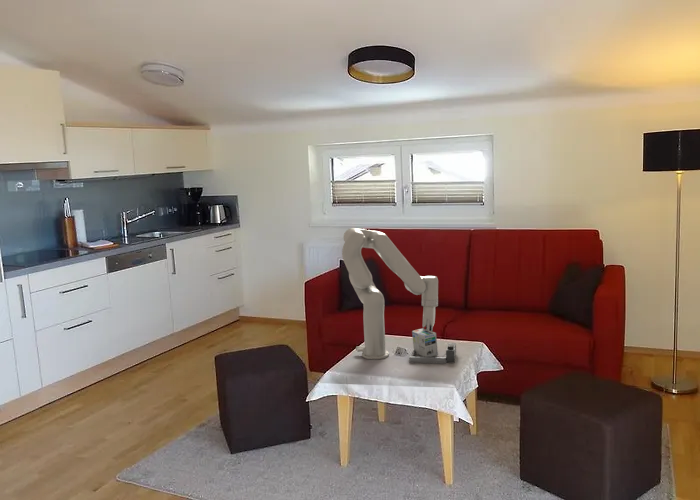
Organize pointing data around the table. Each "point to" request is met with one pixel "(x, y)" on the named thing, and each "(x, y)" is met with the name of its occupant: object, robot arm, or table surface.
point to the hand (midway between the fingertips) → (429, 340)
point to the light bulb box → (425, 342)
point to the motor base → (448, 357)
